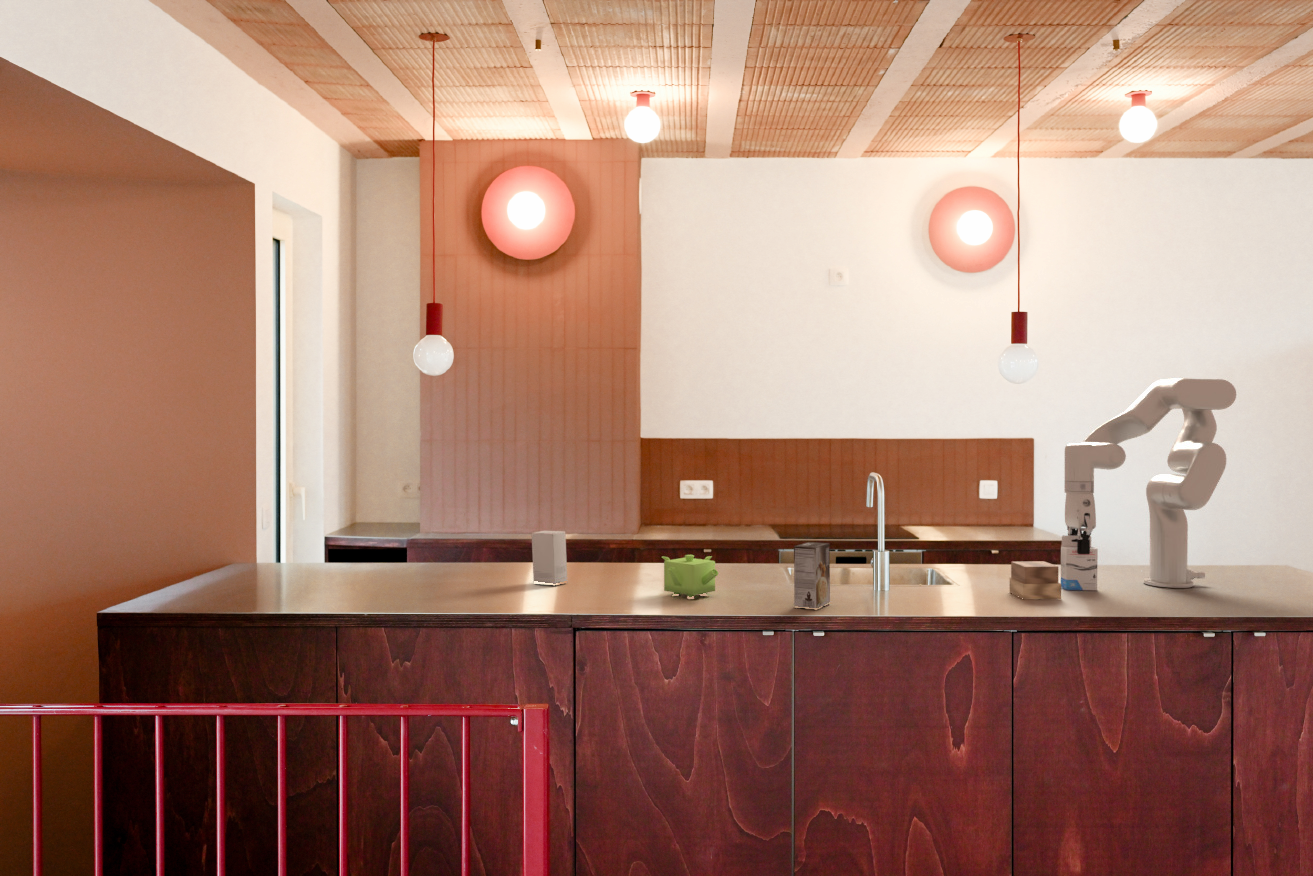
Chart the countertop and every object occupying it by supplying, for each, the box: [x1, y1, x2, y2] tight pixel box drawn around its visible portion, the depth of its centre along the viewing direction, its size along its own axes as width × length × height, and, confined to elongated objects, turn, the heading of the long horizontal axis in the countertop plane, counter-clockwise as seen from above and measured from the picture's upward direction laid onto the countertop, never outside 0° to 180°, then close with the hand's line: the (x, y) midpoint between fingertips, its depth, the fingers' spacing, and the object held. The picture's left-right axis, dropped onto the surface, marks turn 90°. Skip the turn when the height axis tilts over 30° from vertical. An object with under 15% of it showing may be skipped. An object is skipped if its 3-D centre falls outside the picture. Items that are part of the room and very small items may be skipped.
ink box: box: [1060, 534, 1099, 591], centre depth 264 cm, size 9×5×15 cm, turn 84°
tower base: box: [1009, 577, 1062, 600], centre depth 254 cm, size 10×10×4 cm
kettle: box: [661, 554, 719, 597], centre depth 258 cm, size 15×14×11 cm
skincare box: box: [531, 530, 568, 584], centre depth 277 cm, size 8×7×16 cm
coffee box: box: [793, 541, 831, 608], centre depth 242 cm, size 9×6×16 cm
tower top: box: [1010, 560, 1059, 584], centre depth 254 cm, size 9×9×4 cm
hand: (1078, 551), depth 264 cm, fingers closed on ink box, 5 cm apart
